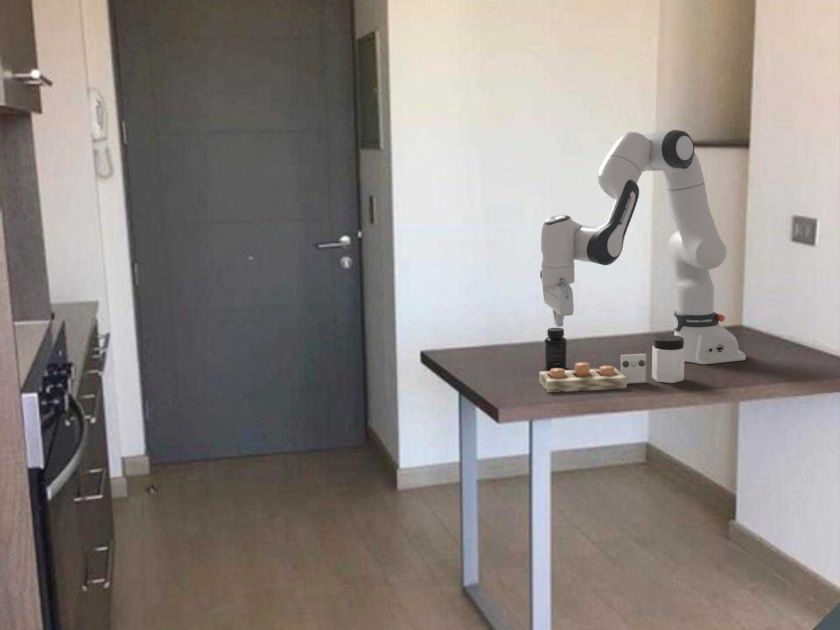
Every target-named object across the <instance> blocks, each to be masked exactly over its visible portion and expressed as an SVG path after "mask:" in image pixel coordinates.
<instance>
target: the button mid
mask: <svg viewBox="0 0 840 630" xmlns="http://www.w3.org/2000/svg"><path fill="white" fill-rule="evenodd" d="M590 369H591V365H590V363H588V362H584V361H581V362H575V363H574V370H575V375H576V376H589V375H590Z"/></svg>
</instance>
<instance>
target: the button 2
mask: <svg viewBox="0 0 840 630" xmlns="http://www.w3.org/2000/svg"><path fill="white" fill-rule="evenodd" d="M614 368H615V366H613V365H601V366H599V369H600V376H612V375H614Z"/></svg>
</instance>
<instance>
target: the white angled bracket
mask: <svg viewBox="0 0 840 630" xmlns="http://www.w3.org/2000/svg"><path fill="white" fill-rule="evenodd" d="M620 372H621V373H622V374H623V375H624V376H625V377H627V384H642V383H647V380H646V379H647V377H646V376H647V374H646V373H647V354H646V353H636V354H632V353H631V354H620Z"/></svg>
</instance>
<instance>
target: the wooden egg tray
mask: <svg viewBox="0 0 840 630" xmlns="http://www.w3.org/2000/svg"><path fill="white" fill-rule="evenodd" d="M538 373H539V374H538V380H539V381H538V382H539V384H540V385H541V384H542V385H541V386H542V387H543V388H544V390H545V389H546V390H547V391H546V390H545V391H546V392H547V393H560V391H561V392H562V391H564V392H579V391H580V390H583V391H601V390H621V389H627V388H628V383H627V377H625V376H624V375H623V374H622V373H621V370H619V369H617V368H616V367H614V375H612V376H600V368H590V375H589V376H576V375H575V369H565V378H553V379H551V378H550V370H545V371H543V370H542V371H539V372H538ZM580 392H581V391H580Z"/></svg>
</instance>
